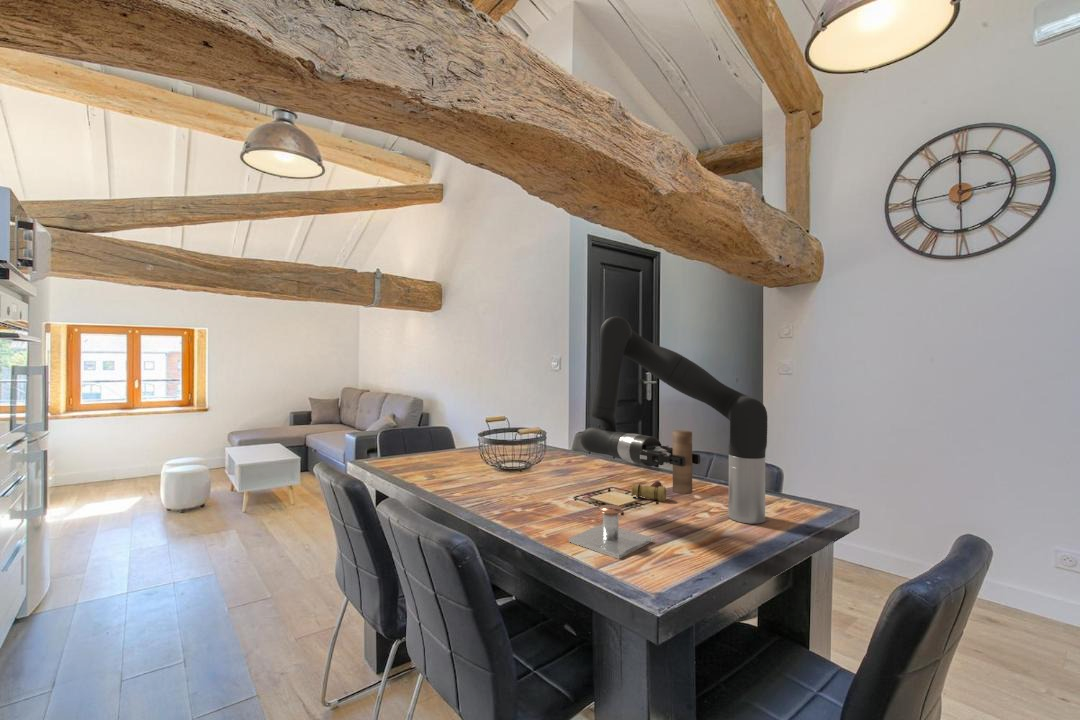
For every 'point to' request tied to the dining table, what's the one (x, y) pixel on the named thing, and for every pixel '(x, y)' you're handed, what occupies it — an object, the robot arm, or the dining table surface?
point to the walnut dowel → (684, 474)
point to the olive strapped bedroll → (650, 491)
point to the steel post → (611, 536)
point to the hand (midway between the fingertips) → (691, 460)
